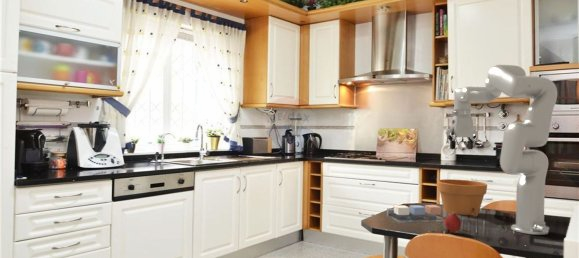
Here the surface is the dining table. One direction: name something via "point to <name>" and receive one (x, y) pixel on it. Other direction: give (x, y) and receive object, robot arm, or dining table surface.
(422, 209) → the slate key
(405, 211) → the ivory key
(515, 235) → the dining table surface
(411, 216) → the clear tray
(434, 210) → the pink square block
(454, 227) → the onion
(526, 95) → the robot arm
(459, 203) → the flower pot
